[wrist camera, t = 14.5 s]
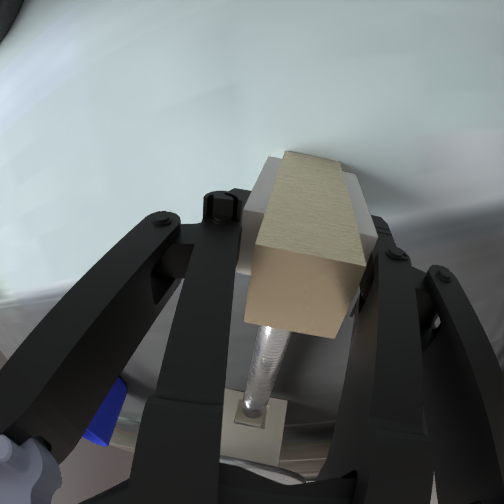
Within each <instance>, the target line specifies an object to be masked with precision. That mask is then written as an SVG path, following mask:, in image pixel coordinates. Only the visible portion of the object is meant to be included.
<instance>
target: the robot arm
mask: <svg viewBox="0 0 504 504" xmlns="http://www.w3.org/2000/svg"><path fill="white" fill-rule="evenodd" d="M22 2H23V0H0V41H1V40H2V38H3V37H4V35H5V34H6V32H7V31H8V29H9V27H10V26H11V24H12V22H13V20H14V18H15V16H16V14H17V12H18V10H19V8H20V6H21V4H22ZM281 161H282V159H280V158H275V157H269V156H268V158H267V160H266V162H265V165H264V167H263V169H262V171H261V173H260V175H259V177H258V179H257V181H256V183H255V185H254V188H253V190H252V191H248V190H242V189H237V188H234V189H232V190H230V191H214V192H210V193H208V194H206V195H205V196H204V202H203V219H202V222H201V223H198V224H181V220H180V217H179V216H178V215H177V214H175V213H172V212H166V211H162V212H161V211H158V212H155V213H152V214H150V215H148V216H147V217H145V218H144V219H143V220H142V221H141V222H140V223H139V224H137V225H136V226H135V227H134V228H133V229H132V230H131V231H130V232H129V233H127V234H126V235H125V236H124V237H123V238H122V239H121V240H120V241H119V242H118V243H117V244H116V245H115V246H113V247H112V248H111V249H110V250H109V251H108V252H107V253H106V254H105V255H104V256H103V257H102V258H101V259H100V260H99V261H98V262H97V263H96V264H95V265H94V266H93V267H92V268H91V269H90V270H89V271H88V272H87V273H86V274H85V275H84V276H83V277H82V278H81V279H80V280H79V281H78V282H77V283H76V284H75V285H74V286H73V287H72V288H71V289H70V290H69V291H68V292H67V293H66V294H65V295H64V296H63V297H62V299H61V300H60V301H59V302H58V303H57V304H56V305H55V306H54V307H53V308H52V309H51V310H50V312H49V313H48V314H47V315H46V316H45V317H44V318H43V319H42V320H41V322H40V323H39V324H38V325H37V326H36V327H35V328H34V330H33V331H32V332H31V333H30V334H29V335H28V337H27V338H26V339H25V340H24V341H23V343H22V344H21V345H20V346H19V347H18V349H17V350H16V351H15V352H14V354H13V355H12V356H11V357H10V359H9V360H8V361H7V362H6V364H5V365H4V366H3V367H2V369H1V370H0V504H51V499H52V496H53V495H54V493H55V491H56V490H57V489H59V488H60V487H61V485H62V477H61V472H60V468H59V464H60V463H61V462H63V461H64V460H65V458H66V457H67V456H68V455H69V454H70V453H71V451H72V450H73V449H74V448H75V446H76V445H77V443H78V442H79V440H80V439H81V437H82V436H83V434H84V433H85V431H86V429H87V427H88V426H89V424H90V422H91V421H92V419H93V417H94V416H95V414H96V412H97V411H98V409H99V407H100V406H101V404H102V403H103V401H104V399H105V398H106V396H107V394H108V393H109V391H110V390H111V388H112V386H113V385H114V383H115V382H116V380H117V378H118V377H119V375H120V374H121V372H122V370H123V369H124V367H125V366H126V364H127V363H128V361H129V359H130V358H131V356H132V355H133V353H134V352H135V350H136V349H137V347H138V345H139V344H140V342H141V341H142V339H143V338H144V336H145V335H146V333H147V332H148V330H149V329H150V327H151V326H152V324H153V323H154V321H155V320H156V318H157V317H158V315H159V314H160V312H161V311H162V309H163V308H164V306H165V305H166V303H167V302H168V300H169V299H170V297H171V296H172V294H173V293H174V291H175V290H176V288H177V287H178V286H179V284H180V283H181V280H182V278H185V279H184V282H183V286H182V289H181V293H180V297H179V300H178V304H177V307H176V311H175V315H174V319H173V322H172V326H171V330H170V334H169V338H168V342H167V346H166V350H165V354H164V358H163V362H162V366H161V370H160V374H159V379H158V383H157V387H156V391H155V393H154V395H152V396H150V397H149V398H148V400H147V401H146V404H145V407H144V411H143V415H142V419H141V424H140V428H139V433H138V438H137V442H136V447H135V452H134V457H133V462H132V468H131V473H130V478H129V479H127V480H125V481H123V482H122V483H120V484H118V485H116V486H114V487H112V488H110V489H108V490H106V491H104V492H102V493H100V494H98V495H96V496H94V497H92V498H89V499H87V500H85V501H83V502H80V503H79V504H430V500H431V493H432V484H433V475H434V473H435V482H436V492H437V499H438V504H504V375H503V373H502V370H501V368H500V365H499V363H498V360H497V358H496V355H495V353H494V351H493V349H492V346H491V344H490V342H489V340H488V337H487V335H486V333H485V331H484V329H483V327H482V325H481V323H480V321H479V319H478V317H477V315H476V313H475V311H474V309H473V307H472V305H471V303H470V301H469V300H468V298H467V296H466V294H465V292H464V290H463V289H462V287H461V285H460V283H459V282H458V280H457V278H456V277H455V276H454V274H453V273H452V272H450V270H449V269H447V268H445V267H443V266H439V265H432V266H430V268H429V270H428V271H427V273H425V272H423V271H421V270H418V269H416V268H414V267H412V266H411V260H410V258H409V256H408V255H407V254H406V252H404V251H403V250H401V249H400V248H398V247H396V244H395V242H394V239H393V237H392V234H391V232H390V229H389V227H388V224H387V223H386V222H385V221H384V220H383V219H382V218H381V217H378V216H373V215H370V212H369V209H368V206H367V203H366V201H365V198H364V195H363V193H362V190H361V187H360V185H359V182H358V180H357V177H356V175H355V174H352V173H348V172H344V171H343V174H344V178H345V181H346V185H347V188H348V192H349V196H350V199H351V203H352V207H353V211H354V215H355V219H356V223H357V227H358V231H359V235H360V240H361V244H362V248H363V253H364V257H365V262H366V269H365V271H364V274H363V276H362V278H361V281H360V283H359V285H360V295H359V297H358V299H357V301H356V304H355V306H354V308H353V310H352V312H351V315H350V316H351V317H353V315H354V313H355V316H354V324H353V331H352V338H351V345H350V351H349V358H348V364H347V369H346V375H345V381H344V386H343V391H342V396H341V401H340V406H339V411H338V415H337V420H336V424H335V428H334V433H333V437H332V441H331V445H330V449H329V453H328V456H327V459H326V461H325V464H324V465H323V467H322V469H321V470H320V472H319V474H318V477H317V479H316V481H315V482H308V483H302V484H294V485H285V484H282V483H279V482H276V481H274V480H271V479H268V478H266V477H263V476H261V475H259V474H256V473H254V472H251V471H249V470H247V469H245V468H242V467H240V466H235V465H230V464H225V463H221V462H220V448H221V434H222V421H223V407H224V393H225V380H226V368H227V356H228V345H229V333H230V322H231V311H232V300H233V289H234V279H235V268H236V266H237V270H236V272H237V273H242V274H247V275H251V269H252V262H253V255H254V248H255V243H256V240H257V237H258V233H259V230H260V227H261V224H262V221H263V218H264V215H265V212H266V208H267V205H268V202H269V199H270V196H271V193H272V190H273V186H274V183H275V180H276V177H277V174H278V171H279V168H280V165H281ZM357 289H358V288H357ZM356 291H357V290H356ZM438 316H439V318H440V321H441V323H440V325H439V326H438V327H437V328H436V327H435V324H434V322H435V321H436V319H437V318H438ZM423 409H424V413H425V418H426V423H427V429H428V434H429V436H428V435H425V434H424V433H423V430H422V417H423Z"/></svg>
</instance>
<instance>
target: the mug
mask: <svg viewBox="0 0 504 504" xmlns="http://www.w3.org/2000/svg"><path fill="white" fill-rule="evenodd" d="M126 394H127V388H126V385H125V383H124V382H123V381H122V380H121V379H120V378H119V377H118V378H117V380H116V382H115V383H114V385H113V386H112V388H111V390H110V391H109V393H108V394H107V396H106V398H105V399H104V401H103V403H102V404H101V406H100V407H99V409H98V411H97V412H96V414H95V416H94V417H93V419H92V421H91V422H90V424H89V426H88V427H87V429H86V431H85V433H84V434H83V436H82V437H83V438H85V439H88V440H89V441H91V442H93V443H96V444H98V445H101V446H108V445H109V442H110V439H111V436H112V433H113V430H114V428H115V425H116V422H117V419H118V416H119V414H120V411H121V408H122V405H123V403H124V400H125V397H126Z"/></svg>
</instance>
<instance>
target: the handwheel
mask: <svg viewBox="0 0 504 504" xmlns="http://www.w3.org/2000/svg"><path fill="white" fill-rule="evenodd" d="M220 462H221V463H225V464H230V465H235V466H240V467H242V468H245V469H247V470H249V471H251V472H254V473H256V474H259V475H261V476H263V477H266V478H268V479H271V480H274V481H276V482H279V483H282V484H285V485H294V484H302V483H306V479H305V478H304V477H303V476H301V475H299V474H297V473H295V472H292V471H289V470H286V469H283V468H279V467H276V466H272V465H268V464H264V463H259V462H255V461H250V460H245V459H240V458H234V457H229V456H223V455H220Z"/></svg>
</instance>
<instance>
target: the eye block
mask: <svg viewBox="0 0 504 504" xmlns="http://www.w3.org/2000/svg"><path fill="white" fill-rule="evenodd" d="M244 393H245V392H240V391H235V390H231V389H227V388H225V393H224V407H223V421H222V434H221V448H220V455H223V456H229V457H234V458H240V459H245V460H250V461H255V462H259V463H264V464H268V465H272V466H276V467H278V461H279V455H280V448H281V442H282V436H283V429H284V423H285V416H286V409H287V400H281V399H275V398H269V402H268V404H267V407H266V409H265V412H264V414H263V415H262V416H261V417H259V418H255V419H252V418H249V417H247V416H245V415H244V414H243V412H242V409H241V407H242V402H243V397H244ZM235 421H236V422H240V423H245V424H250V425H255V426H260V429H259V428H254V427H249V426H244V425H239V424H235Z"/></svg>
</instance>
